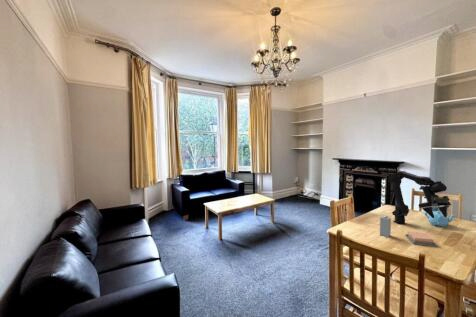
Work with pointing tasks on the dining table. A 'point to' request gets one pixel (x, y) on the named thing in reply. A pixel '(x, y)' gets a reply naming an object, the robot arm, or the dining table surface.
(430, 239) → the pinkish brown square block
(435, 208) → the light bulb box
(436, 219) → the teapot
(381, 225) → the column brick
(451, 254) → the dining table surface
